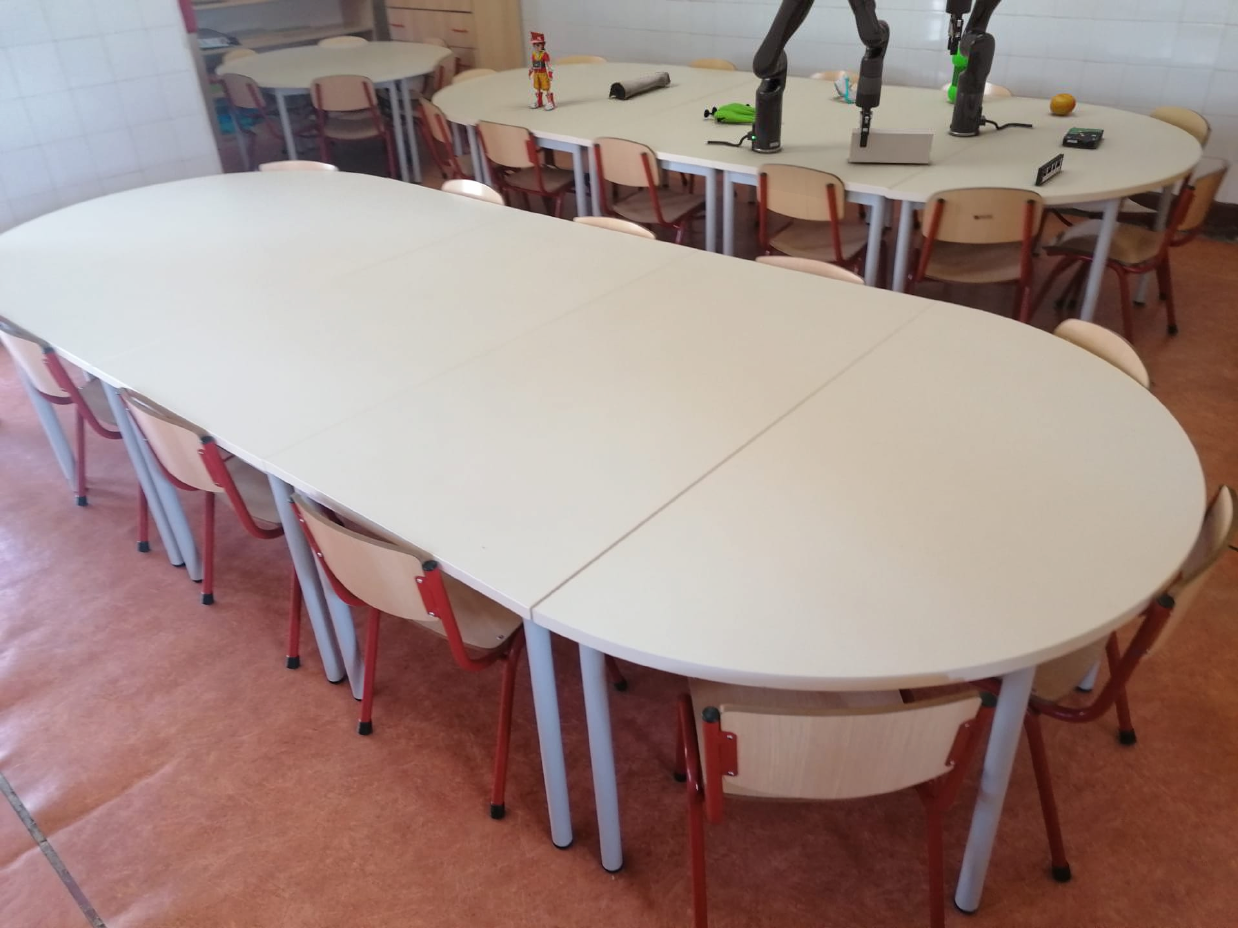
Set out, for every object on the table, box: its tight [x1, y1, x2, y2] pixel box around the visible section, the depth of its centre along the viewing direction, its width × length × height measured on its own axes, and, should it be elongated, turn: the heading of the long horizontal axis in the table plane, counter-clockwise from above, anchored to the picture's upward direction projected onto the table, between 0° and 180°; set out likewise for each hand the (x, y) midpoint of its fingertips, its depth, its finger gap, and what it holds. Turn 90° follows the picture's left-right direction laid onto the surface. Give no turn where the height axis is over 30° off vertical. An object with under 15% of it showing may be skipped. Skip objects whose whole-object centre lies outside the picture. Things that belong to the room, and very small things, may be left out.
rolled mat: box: [608, 71, 672, 101], centre depth 395 cm, size 30×9×10 cm
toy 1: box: [527, 31, 556, 111], centre depth 374 cm, size 12×9×30 cm
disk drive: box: [1062, 127, 1105, 149], centre depth 302 cm, size 10×3×15 cm
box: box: [848, 127, 934, 164], centre depth 293 cm, size 25×6×9 cm, turn 79°
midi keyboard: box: [1035, 153, 1065, 186], centre depth 273 cm, size 18×1×5 cm, turn 138°
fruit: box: [1049, 93, 1077, 116], centre depth 330 cm, size 8×8×8 cm
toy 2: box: [703, 102, 755, 124], centre depth 348 cm, size 28×5×30 cm
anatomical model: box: [833, 74, 857, 104], centre depth 365 cm, size 15×10×10 cm
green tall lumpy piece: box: [947, 46, 968, 104], centre depth 347 cm, size 10×10×25 cm
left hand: (862, 144), depth 294 cm, fingers closed on box, 6 cm apart
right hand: (951, 52), depth 287 cm, fingers open, 8 cm apart
